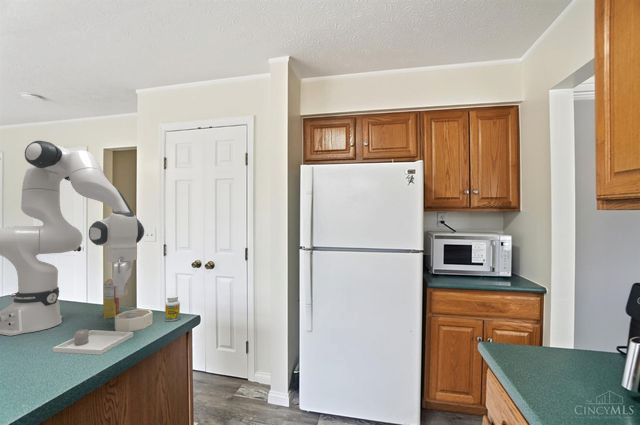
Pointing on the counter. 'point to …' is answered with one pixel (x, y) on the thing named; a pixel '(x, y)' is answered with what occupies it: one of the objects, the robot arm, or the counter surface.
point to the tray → (95, 342)
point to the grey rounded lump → (130, 315)
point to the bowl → (133, 320)
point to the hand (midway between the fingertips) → (122, 293)
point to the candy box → (110, 300)
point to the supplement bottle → (172, 308)
